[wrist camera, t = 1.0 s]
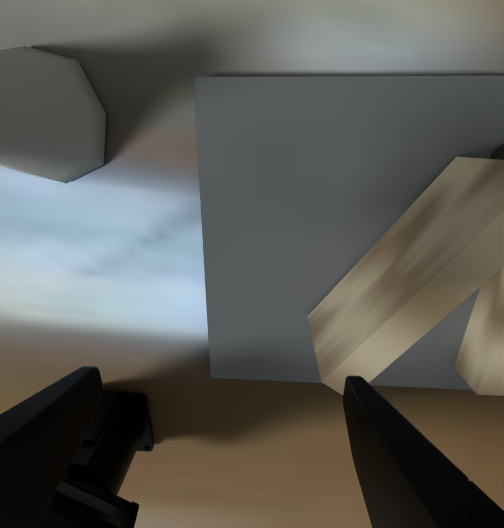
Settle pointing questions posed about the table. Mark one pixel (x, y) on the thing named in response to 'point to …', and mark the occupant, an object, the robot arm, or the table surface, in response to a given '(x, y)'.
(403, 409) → the table surface
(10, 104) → the flask
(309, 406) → the table surface
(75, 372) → the robot arm
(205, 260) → the slate board
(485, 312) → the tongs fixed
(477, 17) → the table surface
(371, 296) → the beige flat block
